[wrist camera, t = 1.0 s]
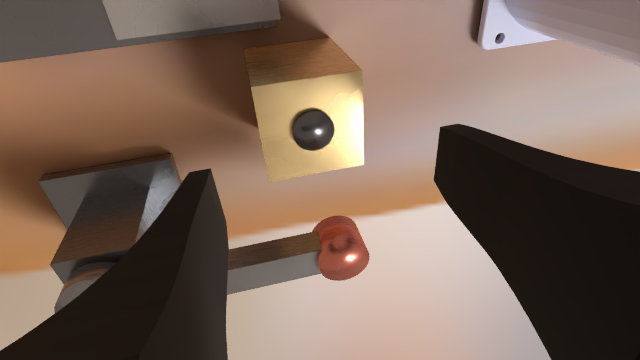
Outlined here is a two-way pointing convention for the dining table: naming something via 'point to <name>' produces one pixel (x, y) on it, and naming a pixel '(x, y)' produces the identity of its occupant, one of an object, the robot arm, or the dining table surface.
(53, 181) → the press
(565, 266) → the robot arm
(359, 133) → the housing
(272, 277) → the lever
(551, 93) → the dining table surface
